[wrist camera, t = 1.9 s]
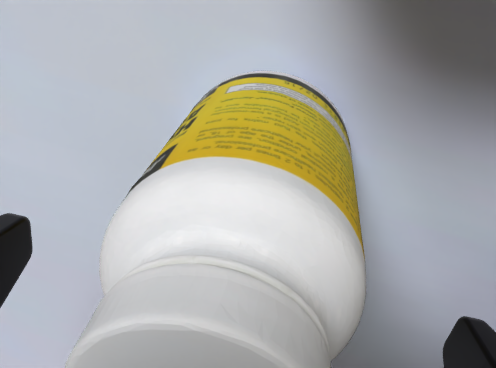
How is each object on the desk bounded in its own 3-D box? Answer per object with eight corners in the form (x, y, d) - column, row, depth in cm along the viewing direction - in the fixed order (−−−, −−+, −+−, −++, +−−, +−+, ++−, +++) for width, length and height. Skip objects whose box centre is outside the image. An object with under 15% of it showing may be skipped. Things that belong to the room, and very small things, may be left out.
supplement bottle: (201, 46, 14) (3, 222, 5) (372, 92, 13) (468, 348, 5) (176, 193, 16) (19, 471, 8) (319, 231, 16) (321, 555, 8)
